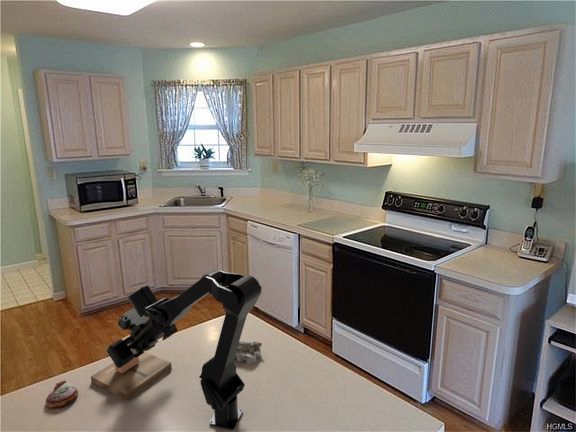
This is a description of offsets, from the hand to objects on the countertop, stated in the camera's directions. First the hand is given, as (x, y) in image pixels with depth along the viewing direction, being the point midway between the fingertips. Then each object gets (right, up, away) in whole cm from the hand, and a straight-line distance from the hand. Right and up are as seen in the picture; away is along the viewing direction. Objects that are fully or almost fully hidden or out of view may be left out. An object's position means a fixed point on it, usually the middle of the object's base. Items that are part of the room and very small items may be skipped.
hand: (129, 353), depth 114 cm
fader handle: (-2, -5, +2) cm, 6 cm away
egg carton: (+31, -5, +11) cm, 34 cm away
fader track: (0, -7, +2) cm, 7 cm away
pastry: (-15, -10, -8) cm, 20 cm away
